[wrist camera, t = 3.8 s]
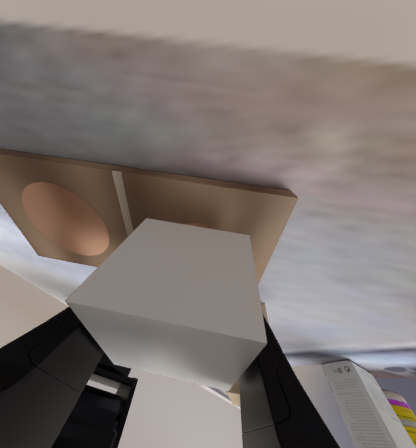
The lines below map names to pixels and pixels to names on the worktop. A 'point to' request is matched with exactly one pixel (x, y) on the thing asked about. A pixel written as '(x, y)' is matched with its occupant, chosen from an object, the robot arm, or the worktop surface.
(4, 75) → the worktop surface
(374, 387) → the skincare box
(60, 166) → the board
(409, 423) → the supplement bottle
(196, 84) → the worktop surface
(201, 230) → the block
